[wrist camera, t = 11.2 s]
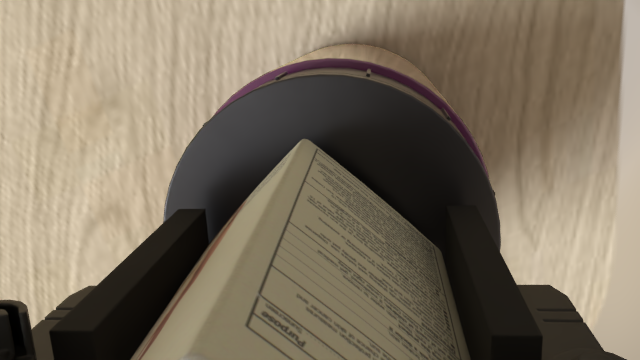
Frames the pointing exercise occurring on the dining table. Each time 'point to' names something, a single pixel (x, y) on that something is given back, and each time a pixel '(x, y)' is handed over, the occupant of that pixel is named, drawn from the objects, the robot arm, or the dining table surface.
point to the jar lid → (337, 148)
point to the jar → (364, 60)
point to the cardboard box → (312, 279)
